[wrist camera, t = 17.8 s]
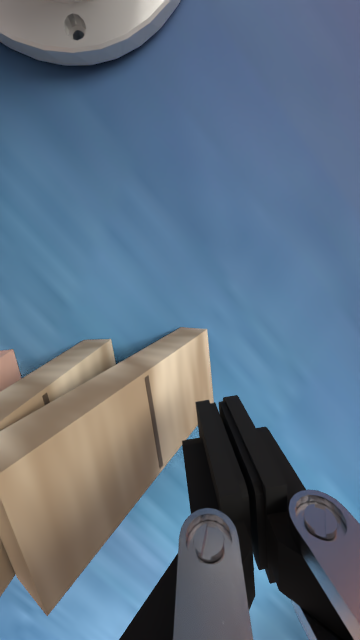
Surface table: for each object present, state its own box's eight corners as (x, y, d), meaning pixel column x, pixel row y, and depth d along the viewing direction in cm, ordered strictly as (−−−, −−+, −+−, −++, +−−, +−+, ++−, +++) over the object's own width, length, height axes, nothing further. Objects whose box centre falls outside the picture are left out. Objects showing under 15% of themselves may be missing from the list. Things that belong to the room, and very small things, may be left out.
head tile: (189, 397, 17) (16, 577, 8) (180, 327, 16) (-36, 451, 7) (214, 404, 16) (47, 617, 7) (207, 329, 15) (-8, 478, 6)
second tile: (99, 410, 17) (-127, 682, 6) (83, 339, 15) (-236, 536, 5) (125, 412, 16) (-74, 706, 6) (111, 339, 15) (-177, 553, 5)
